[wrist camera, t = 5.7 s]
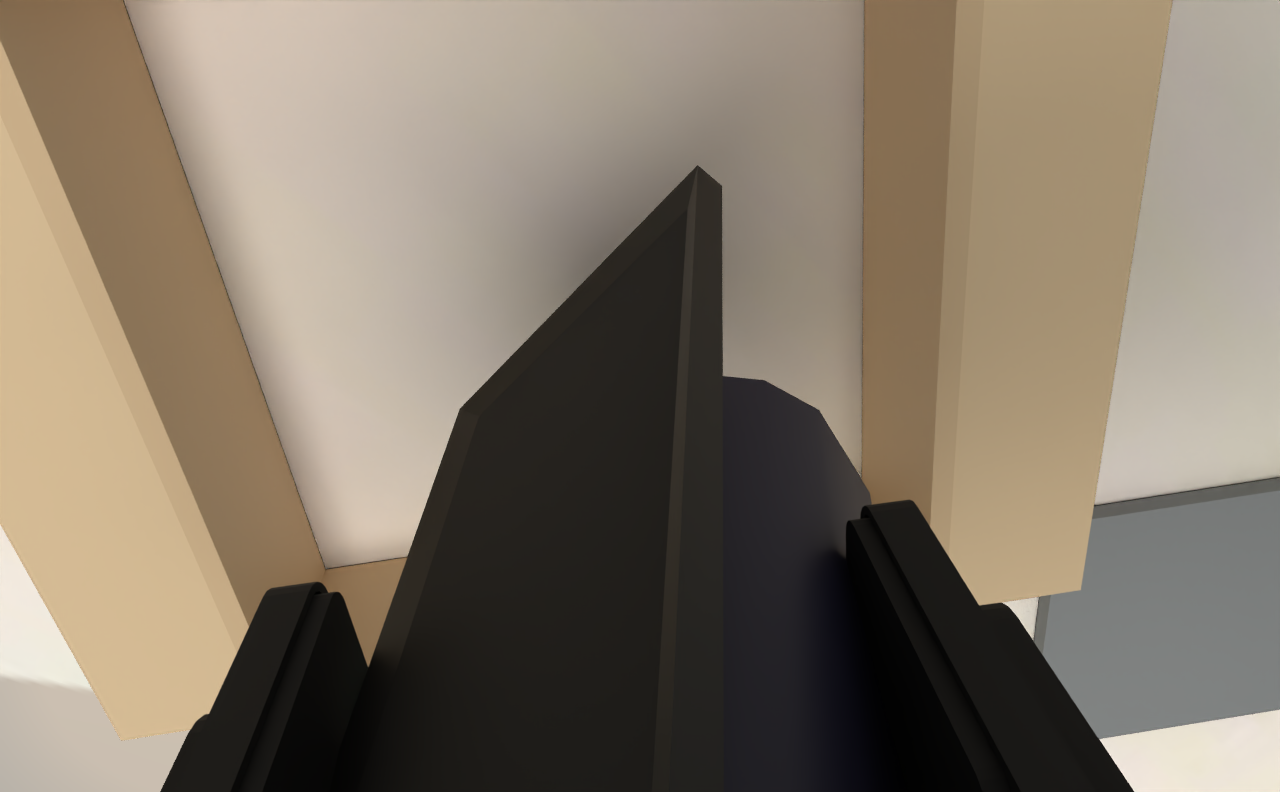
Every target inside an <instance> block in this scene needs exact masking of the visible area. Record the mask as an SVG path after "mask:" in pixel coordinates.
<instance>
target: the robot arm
mask: <svg viewBox="0 0 1280 792" xmlns="http://www.w3.org/2000/svg"><path fill="white" fill-rule="evenodd" d="M846 561H847V564H848V568H849V572H850V576H851V580H852V584H853V588H854V591H855V595H856V599H857V603H858V607H859V611H860V615H861V618H862V622H863V626H864V630H865V634H866V638H867V642H868V645H869V649H870V653H871V657H872V661H873V665H874V669H875V672H876V676H877V680H878V684H879V688H880V692H881V696H882V699H883V703H884V707H885V711H886V715H887V719H888V723H889V726H890V730H891V734H892V738H893V742H894V746H895V750H896V753H897V757H898V761H899V765H900V769H901V773H902V777H903V780H904V784H905V788H906V792H1134V791H1133V789H1132V788H1131V786H1130V785H1129V783H1128V782H1127V780H1126V779H1125V777H1124V776H1123V774H1122V773H1121V771H1120V770H1119V768H1118V767H1117V765H1116V764H1115V762H1114V761H1113V759H1112V758H1111V756H1110V755H1109V753H1108V752H1107V750H1106V749H1105V747H1104V746H1103V744H1102V743H1101V741H1100V740H1099V738H1098V737H1097V736H1096V734H1095V733H1094V731H1093V730H1092V728H1091V727H1090V725H1089V724H1088V722H1087V721H1086V719H1085V718H1084V716H1083V715H1082V713H1081V712H1080V710H1079V709H1078V707H1077V706H1076V704H1075V703H1074V701H1073V700H1072V698H1071V697H1070V695H1069V694H1068V692H1067V691H1066V689H1065V688H1064V686H1063V685H1062V683H1061V682H1060V680H1059V679H1058V677H1057V676H1056V674H1055V673H1054V671H1053V670H1052V668H1051V667H1050V665H1049V664H1048V662H1047V661H1046V659H1045V658H1044V656H1043V655H1042V653H1041V652H1040V650H1039V649H1038V647H1037V646H1036V644H1035V643H1034V641H1033V640H1032V638H1031V637H1030V635H1029V634H1028V632H1027V631H1026V629H1025V628H1024V626H1023V625H1022V623H1021V622H1020V620H1019V619H1018V617H1017V616H1016V615H1015V614H1014V612H1013V611H1012V610H1011V609H1010V608H1009V607H1008V606H1006V605H1005V604H1003V603H1001V602H1000V603H993V604H986V605H979V604H978V603H977V601H976V600H975V598H974V596H973V595H972V593H971V592H970V590H969V588H968V587H967V585H966V583H965V582H964V580H963V579H962V577H961V575H960V574H959V572H958V571H957V569H956V567H955V566H954V564H953V563H952V561H951V559H950V558H949V556H948V555H947V553H946V551H945V550H944V548H943V547H942V545H941V543H940V542H939V540H938V539H937V537H936V535H935V534H934V532H933V531H932V529H931V527H930V526H929V524H928V523H927V521H926V519H925V518H924V516H923V514H922V513H921V511H920V510H919V508H918V506H917V505H916V504H915V503H914V501H912V500H910V499H909V500H901V501H894V502H887V503H880V504H873V505H865V506H864V507H862V510H861V515H860V519H855V520H849V521H847V524H846ZM367 670H368V666H367V663H366V660H365V657H364V654H363V651H362V648H361V646H360V643H359V640H358V637H357V634H356V631H355V628H354V626H353V623H352V620H351V617H350V614H349V611H348V608H347V606H346V603H345V600H344V598H343V596H342V595H341V593H340V592H330V593H328V591H327V589H326V587H325V586H324V585H323V584H322V583H321V582H310V583H303V584H296V585H289V586H282V587H274V588H271V589H269V590H267V591H266V593H265V594H264V596H263V598H262V600H261V602H260V604H259V606H258V609H257V611H256V613H255V615H254V617H253V619H252V622H251V624H250V626H249V628H248V630H247V632H246V635H245V637H244V639H243V641H242V643H241V645H240V648H239V650H238V652H237V654H236V656H235V658H234V661H233V663H232V665H231V667H230V669H229V671H228V674H227V676H226V678H225V680H224V682H223V684H222V687H221V689H220V691H219V693H218V695H217V697H216V700H215V702H214V704H213V706H212V708H211V710H210V713H209V714H205V715H203V716H202V717H201V718H199V719H198V720H197V721H196V722H195V723H194V725H193V727H192V728H191V730H190V731H189V733H188V735H187V737H186V739H185V741H184V743H183V745H182V748H181V749H180V752H179V754H178V756H177V758H176V760H175V762H174V764H173V767H172V769H171V770H170V773H169V775H168V777H167V779H166V781H165V783H164V785H163V787H162V789H161V791H160V792H330V788H331V784H332V779H333V775H334V770H335V766H336V761H337V757H338V752H339V749H340V746H341V743H342V740H343V738H344V735H345V732H346V729H347V726H348V723H349V721H350V718H351V715H352V712H353V709H354V706H355V704H356V701H357V698H358V695H359V692H360V690H361V687H362V684H363V681H364V678H365V675H366V673H367Z"/></svg>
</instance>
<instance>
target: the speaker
mask: <svg viewBox="0 0 1280 792" xmlns="http://www.w3.org/2000/svg"><path fill="white" fill-rule="evenodd" d="M865 505H872V502H871V497H870V492H869V491H868V489H867V487H866V486H865V484H864V483H863V481H862V479H861V478H860V476H859V474H858V473H857V471H856V470H855V468H854V466H853V465H852V463H851V461H850V460H849V458H848V457H847V455H846V453H845V452H844V450H843V448H842V447H841V445H840V444H839V442H838V440H837V439H836V437H835V436H834V434H833V432H832V431H831V429H830V427H829V426H828V424H827V423H826V421H825V419H824V418H823V416H822V414H821V413H820V411H819V410H818V409H816V408H814V407H812V406H810V405H809V404H807V403H805V402H803V401H801V400H799V399H798V398H796V397H794V396H792V395H790V394H788V393H787V392H785V391H783V390H781V389H779V388H777V387H776V386H774V385H772V384H770V383H768V382H767V381H765V380H756V379H746V378H736V377H726V376H723V347H722V186H721V185H720V184H719V183H718V182H717V181H715V180H714V179H713V178H712V177H711V176H710V175H708V174H707V173H706V172H705V171H704V170H703V169H701V168H700V167H699V166H698V165H697V166H696V167H695V169H694V170H693V171H692V172H691V173H690V174H689V175H688V176H687V177H686V178H685V179H684V180H683V181H682V182H681V183H680V184H679V185H678V186H677V187H676V188H675V189H674V190H673V191H672V192H671V193H670V194H669V195H668V196H667V197H666V198H665V199H664V200H663V201H662V202H661V203H660V204H659V205H658V206H657V207H656V208H655V209H654V211H653V212H652V213H651V214H650V215H649V216H648V217H647V218H646V219H645V220H644V221H643V222H642V223H641V224H640V225H639V226H638V227H637V228H636V229H635V230H634V231H633V232H632V233H631V234H630V235H629V236H628V237H627V238H626V239H625V240H624V241H623V242H622V243H621V244H620V245H619V246H618V247H617V248H616V249H615V250H614V251H613V253H612V254H611V255H610V256H609V257H608V258H607V259H606V260H605V261H604V262H603V263H602V264H601V265H600V266H599V267H598V268H597V269H596V270H595V271H594V272H593V273H592V274H591V275H590V276H589V277H588V278H587V279H586V280H585V281H584V282H583V283H582V284H581V285H580V286H579V287H578V288H577V289H576V290H575V291H574V292H573V293H572V295H571V296H570V297H569V298H568V299H567V300H566V301H565V302H564V303H563V304H562V305H561V306H560V307H559V308H558V309H557V310H556V311H555V312H554V313H553V314H552V315H551V316H550V317H549V318H548V319H547V320H546V321H545V322H544V323H543V324H542V325H541V326H540V327H539V328H538V329H537V330H536V331H535V332H534V333H533V334H532V335H531V337H530V338H529V339H528V340H527V341H526V342H525V343H524V344H523V345H522V346H521V347H520V348H519V349H518V350H517V351H516V352H515V353H514V354H513V355H512V356H511V357H510V358H509V359H508V360H507V361H506V362H505V363H504V364H503V365H502V366H501V367H500V368H499V369H498V370H497V371H496V372H495V373H494V374H493V375H492V376H491V377H490V379H489V380H488V381H487V382H486V383H485V384H484V385H483V386H482V387H481V388H480V389H479V390H478V391H477V392H476V393H475V394H474V395H473V396H472V397H471V398H470V399H469V400H468V401H467V402H466V403H465V404H464V405H463V406H462V407H461V408H460V410H459V413H458V416H457V418H456V421H455V424H454V427H453V430H452V433H451V435H450V438H449V441H448V444H447V447H446V450H445V452H444V455H443V458H442V461H441V464H440V466H439V469H438V472H437V475H436V478H435V481H434V483H433V486H432V489H431V492H430V495H429V498H428V500H427V503H426V506H425V509H424V512H423V514H422V517H421V520H420V523H419V526H418V529H417V531H416V534H415V537H414V540H413V543H412V546H411V548H410V551H409V554H408V557H407V560H406V562H405V565H404V568H403V571H402V574H401V577H400V579H399V582H398V585H397V588H396V591H395V594H394V596H393V599H392V602H391V605H390V608H389V610H388V613H387V616H386V619H385V622H384V625H383V627H382V630H381V633H380V636H379V639H378V642H377V644H376V647H375V650H374V653H373V656H372V658H371V661H370V664H369V667H368V670H367V673H366V675H365V678H364V681H363V684H362V687H361V690H360V692H359V695H358V698H357V701H356V704H355V706H354V709H353V712H352V715H351V718H350V721H349V723H348V726H347V729H346V732H345V735H344V738H343V740H342V743H341V746H340V749H339V752H338V757H337V761H336V766H335V770H334V775H333V779H332V784H331V788H330V792H906V788H905V784H904V780H903V777H902V773H901V769H900V765H899V761H898V757H897V753H896V750H895V746H894V742H893V738H892V734H891V730H890V726H889V723H888V719H887V715H886V711H885V707H884V703H883V699H882V696H881V692H880V688H879V684H878V680H877V676H876V672H875V669H874V665H873V661H872V657H871V653H870V649H869V645H868V642H867V638H866V634H865V630H864V626H863V622H862V618H861V615H860V611H859V607H858V603H857V599H856V595H855V591H854V588H853V584H852V580H851V576H850V572H849V568H848V564H847V561H846V524H847V521H849V520H855V519H860V515H861V510H862V507H864V506H865Z"/></svg>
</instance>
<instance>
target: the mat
mask: <svg viewBox="0 0 1280 792" xmlns="http://www.w3.org/2000/svg"><path fill="white" fill-rule="evenodd" d="M1034 643H1035V644H1036V646H1037V647H1038V649H1039V650H1040V652H1041V653H1042V655H1043V656H1044V658H1045V659H1046V661H1047V662H1048V664H1049V665H1050V667H1051V668H1052V670H1053V671H1054V673H1055V674H1056V676H1057V677H1058V679H1059V680H1060V682H1061V683H1062V685H1063V686H1064V688H1065V689H1066V691H1067V692H1068V694H1069V695H1070V697H1071V698H1072V700H1073V701H1074V703H1075V704H1076V706H1077V707H1078V709H1079V710H1080V712H1081V713H1082V715H1083V716H1084V718H1085V719H1086V721H1087V722H1088V724H1089V725H1090V727H1091V728H1092V730H1093V731H1094V733H1095V734H1096V736H1097V737H1098V738H1099V739H1102V738H1108V737H1114V736H1120V735H1126V734H1133V733H1139V732H1145V731H1151V730H1157V729H1163V728H1169V727H1175V726H1182V725H1188V724H1194V723H1200V722H1206V721H1212V720H1218V719H1225V718H1231V717H1237V716H1243V715H1249V714H1255V713H1261V712H1268V711H1274V710H1280V478H1275V479H1268V480H1262V481H1255V482H1249V483H1242V484H1236V485H1229V486H1223V487H1216V488H1210V489H1203V490H1197V491H1190V492H1184V493H1177V494H1171V495H1164V496H1158V497H1151V498H1145V499H1138V500H1132V501H1125V502H1119V503H1112V504H1106V505H1099V506H1094V508H1093V515H1092V521H1091V527H1090V534H1089V540H1088V547H1087V553H1086V559H1085V566H1084V572H1083V579H1082V585H1081V590H1078V591H1072V592H1065V593H1059V594H1053V595H1046V596H1040V598H1039V606H1038V613H1037V621H1036V629H1035V637H1034Z"/></svg>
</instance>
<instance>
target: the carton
mask: <svg viewBox="0 0 1280 792" xmlns="http://www.w3.org/2000/svg"><path fill="white" fill-rule="evenodd" d="M1172 1H1173V0H865V17H864V194H863V371H862V481H863V483H864V484H865V486H866V487H867V489H868V491H869V492H870V497H871V502H872V505H873V504H880V503H887V502H894V501H901V500H909V499H910V500H912V501H914V503H915V504H916V505H917V506H918V508H919V510H920V511H921V513H922V514H923V516H924V518H925V519H926V521H927V523H928V524H929V526H930V527H931V529H932V531H933V532H934V534H935V535H936V537H937V539H938V540H939V542H940V543H941V545H942V547H943V548H944V550H945V551H946V553H947V555H948V556H949V558H950V559H951V561H952V563H953V564H954V566H955V567H956V569H957V571H958V572H959V574H960V575H961V577H962V579H963V580H964V582H965V583H966V585H967V587H968V588H969V590H970V592H971V593H972V595H973V596H974V598H975V600H976V601H977V603H978V604H979V605H986V604H993V603H1000V602H1001V603H1002V602H1008V601H1014V600H1021V599H1027V598H1033V597H1040V596H1046V595H1053V594H1059V593H1065V592H1072V591H1078V590H1081V585H1082V579H1083V572H1084V566H1085V559H1086V553H1087V547H1088V540H1089V534H1090V527H1091V521H1092V515H1093V508H1094V502H1095V495H1096V489H1097V482H1098V476H1099V470H1100V463H1101V457H1102V450H1103V444H1104V437H1105V431H1106V425H1107V418H1108V412H1109V405H1110V399H1111V393H1112V386H1113V380H1114V373H1115V367H1116V360H1117V354H1118V348H1119V341H1120V335H1121V328H1122V322H1123V315H1124V309H1125V303H1126V296H1127V290H1128V283H1129V277H1130V271H1131V264H1132V258H1133V251H1134V245H1135V238H1136V232H1137V226H1138V219H1139V213H1140V206H1141V200H1142V193H1143V187H1144V181H1145V174H1146V168H1147V161H1148V155H1149V149H1150V142H1151V136H1152V129H1153V123H1154V116H1155V110H1156V104H1157V97H1158V91H1159V84H1160V78H1161V72H1162V65H1163V59H1164V52H1165V46H1166V39H1167V33H1168V27H1169V20H1170V14H1171V7H1172ZM0 524H1V526H2V528H3V530H4V532H5V533H6V535H7V537H8V539H9V541H10V542H11V544H12V546H13V548H14V550H15V551H16V553H17V555H18V557H19V558H20V560H21V562H22V564H23V566H24V567H25V569H26V571H27V573H28V575H29V576H30V578H31V580H32V582H33V584H34V585H35V587H36V589H37V591H38V593H39V594H40V596H41V598H42V600H43V602H44V603H45V605H46V607H47V609H48V610H49V612H50V614H51V616H52V618H53V619H54V621H55V623H56V625H57V627H58V628H59V630H60V632H61V634H62V636H63V637H64V639H65V641H66V643H67V645H68V646H69V648H70V650H71V652H72V653H73V655H74V657H75V659H76V661H77V662H78V664H79V666H80V668H81V670H82V671H83V673H84V675H85V677H86V679H87V680H88V682H89V684H90V686H91V688H92V689H93V691H94V693H95V695H96V696H97V698H98V700H99V702H100V704H101V705H102V707H103V709H104V711H105V713H106V714H107V716H108V718H109V720H110V721H111V723H112V725H113V727H114V728H115V731H116V732H117V734H118V736H119V738H120V739H121V741H122V740H129V739H135V738H141V737H148V736H154V735H161V734H167V733H173V732H180V731H186V730H191V728H192V727H193V725H194V723H195V722H196V721H197V720H198V719H199V718H201V717H202V716H203V715H205V714H209V713H210V710H211V708H212V706H213V704H214V702H215V700H216V697H217V695H218V693H219V691H220V689H221V687H222V684H223V682H224V680H225V678H226V676H227V674H228V671H229V669H230V667H231V665H232V663H233V661H234V658H235V656H236V654H237V652H238V650H239V648H240V645H241V643H242V641H243V639H244V637H245V635H246V632H247V630H248V628H249V626H250V624H251V622H252V619H253V617H254V615H255V613H256V611H257V609H258V606H259V604H260V602H261V600H262V598H263V596H264V594H265V593H266V591H267V590H269V589H271V588H274V587H282V586H289V585H296V584H303V583H310V582H321V583H322V584H323V585H324V586H325V587H326V589H327V591H328V593H330V592H340V593H341V595H342V596H343V598H344V600H345V603H346V606H347V608H348V611H349V614H350V617H351V620H352V623H353V626H354V628H355V631H356V634H357V637H358V640H359V643H360V646H361V648H362V651H363V654H364V657H365V660H366V663H367V666H368V667H369V664H370V661H371V658H372V656H373V653H374V650H375V647H376V644H377V642H378V639H379V636H380V633H381V630H382V627H383V625H384V622H385V619H386V616H387V613H388V610H389V608H390V605H391V602H392V599H393V596H394V594H395V591H396V588H397V585H398V582H399V579H400V577H401V574H402V571H403V568H404V565H405V562H406V560H407V557H406V558H399V559H393V560H386V561H380V562H373V563H366V564H360V565H353V566H347V567H340V568H333V569H327V570H325V567H324V564H323V562H322V559H321V556H320V553H319V550H318V547H317V545H316V542H315V539H314V536H313V533H312V531H311V528H310V525H309V522H308V519H307V517H306V514H305V511H304V508H303V505H302V503H301V500H300V497H299V494H298V491H297V488H296V486H295V483H294V480H293V477H292V474H291V472H290V469H289V466H288V463H287V460H286V458H285V455H284V452H283V449H282V446H281V444H280V441H279V438H278V435H277V432H276V429H275V427H274V424H273V421H272V418H271V415H270V413H269V410H268V407H267V404H266V401H265V399H264V396H263V393H262V390H261V387H260V385H259V382H258V379H257V376H256V373H255V370H254V368H253V365H252V362H251V359H250V356H249V354H248V351H247V348H246V345H245V342H244V340H243V337H242V334H241V331H240V328H239V326H238V323H237V320H236V317H235V314H234V311H233V309H232V306H231V303H230V300H229V297H228V295H227V292H226V289H225V286H224V283H223V281H222V278H221V275H220V272H219V269H218V266H217V264H216V261H215V258H214V255H213V252H212V250H211V247H210V244H209V241H208V238H207V236H206V233H205V230H204V227H203V224H202V222H201V219H200V216H199V213H198V210H197V207H196V205H195V202H194V199H193V196H192V193H191V191H190V188H189V185H188V182H187V179H186V177H185V174H184V171H183V168H182V165H181V163H180V160H179V157H178V154H177V151H176V148H175V146H174V143H173V140H172V137H171V134H170V132H169V129H168V126H167V123H166V120H165V118H164V115H163V112H162V109H161V106H160V104H159V101H158V98H157V95H156V92H155V89H154V87H153V84H152V81H151V78H150V75H149V73H148V70H147V67H146V64H145V61H144V59H143V56H142V53H141V50H140V47H139V45H138V42H137V39H136V36H135V33H134V30H133V28H132V25H131V22H130V19H129V16H128V14H127V11H126V8H125V5H124V2H123V0H0Z"/></svg>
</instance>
